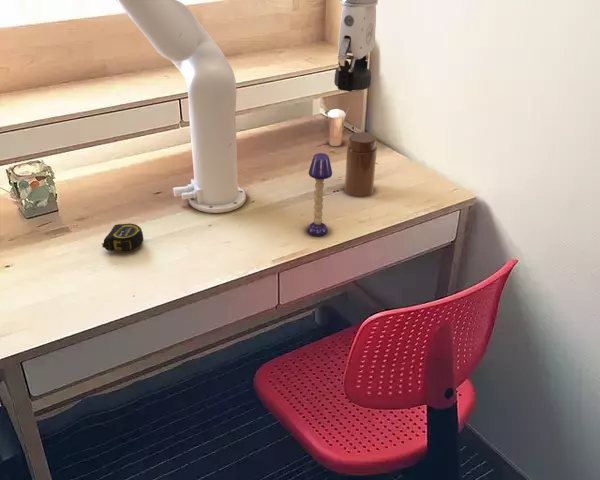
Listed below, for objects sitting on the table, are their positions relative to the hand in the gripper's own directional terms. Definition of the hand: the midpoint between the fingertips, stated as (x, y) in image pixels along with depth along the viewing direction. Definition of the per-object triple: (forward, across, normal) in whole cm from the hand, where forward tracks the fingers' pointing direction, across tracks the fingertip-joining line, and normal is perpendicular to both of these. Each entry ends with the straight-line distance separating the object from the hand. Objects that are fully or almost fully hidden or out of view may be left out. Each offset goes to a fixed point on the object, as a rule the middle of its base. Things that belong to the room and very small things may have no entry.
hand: (352, 84), depth 143 cm
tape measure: (+25, -44, +30) cm, 59 cm away
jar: (+24, 0, -3) cm, 24 cm away
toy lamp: (+25, -21, -2) cm, 32 cm away
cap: (-2, 0, 0) cm, 2 cm away
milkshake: (+24, +23, +11) cm, 35 cm away
